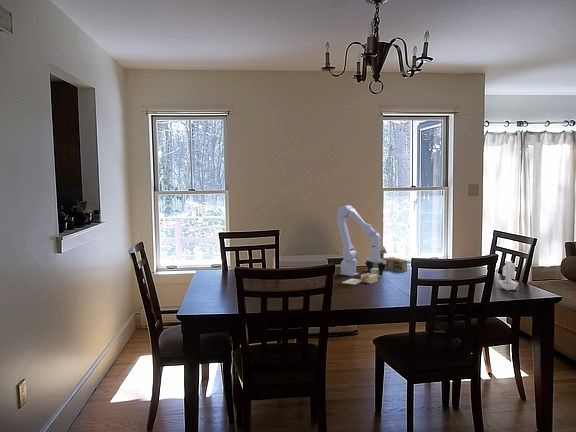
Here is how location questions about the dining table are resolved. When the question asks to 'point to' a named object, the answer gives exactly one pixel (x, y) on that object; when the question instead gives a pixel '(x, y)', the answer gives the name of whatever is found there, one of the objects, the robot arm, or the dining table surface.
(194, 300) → the dining table surface
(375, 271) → the sage cube
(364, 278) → the beech base
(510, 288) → the figurine
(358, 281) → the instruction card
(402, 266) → the toy kitchen set
